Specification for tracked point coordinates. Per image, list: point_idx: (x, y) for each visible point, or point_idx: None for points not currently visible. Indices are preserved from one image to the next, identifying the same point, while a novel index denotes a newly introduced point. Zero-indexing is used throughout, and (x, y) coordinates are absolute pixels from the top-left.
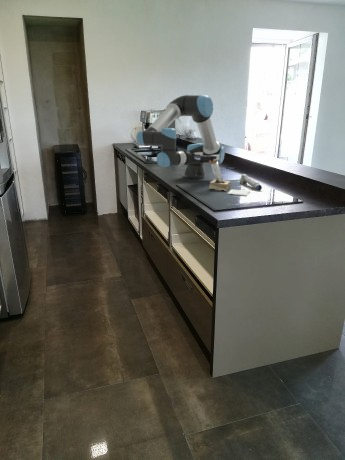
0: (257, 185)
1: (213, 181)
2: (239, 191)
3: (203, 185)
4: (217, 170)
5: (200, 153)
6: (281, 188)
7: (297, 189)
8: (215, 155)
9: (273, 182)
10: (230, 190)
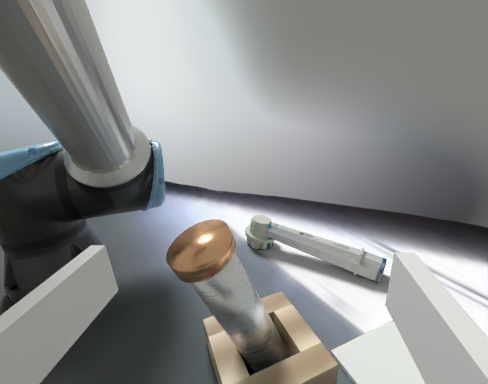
0: (381, 266)
1: (225, 357)
2: (395, 359)
3: (152, 374)
4: (251, 304)
5: (79, 283)
6: (373, 227)
7: (398, 215)
8: (471, 328)
9: (301, 205)
10: (354, 377)
